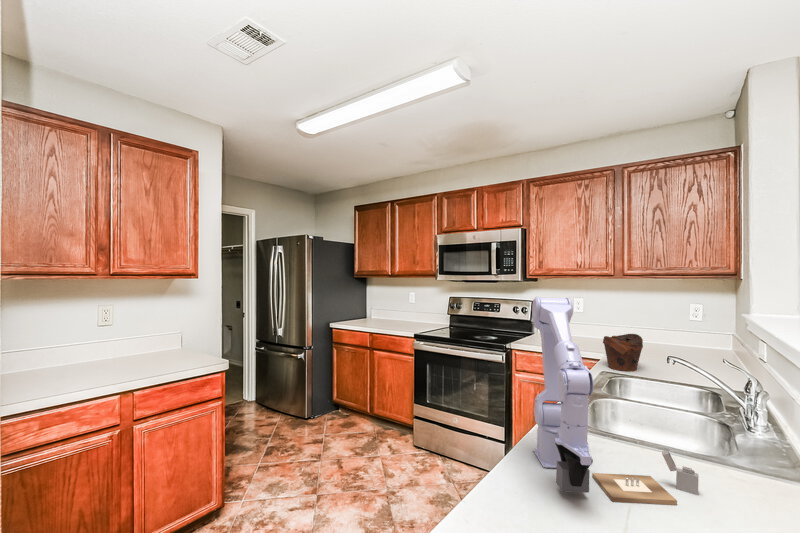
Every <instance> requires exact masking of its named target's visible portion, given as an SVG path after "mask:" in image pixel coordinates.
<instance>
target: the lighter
mask: <svg viewBox="0 0 800 533" xmlns="http://www.w3.org/2000/svg"><path fill="white" fill-rule="evenodd" d="M661 455H662V457H663V459H664V461H665V464H666V465H667V468H668V470H669V471H670V472H676V478H675V480H676V481H675V488H676V490H679V491H683V492H686V493H689V494H692V495H695V496H699V473H696V471H695V470H694V469H692V468H691V467H687V466H684V465H683V466H682V469H681V468H679V467H677V465H676V464H675V461H674V459H673V457H672V455H671V453H670V451H669V450H663V451H662V452H661Z"/></svg>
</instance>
